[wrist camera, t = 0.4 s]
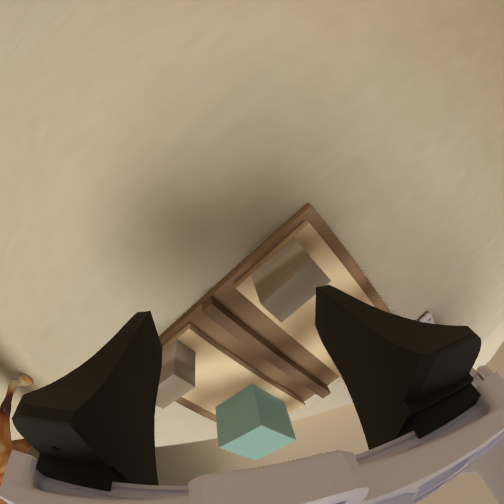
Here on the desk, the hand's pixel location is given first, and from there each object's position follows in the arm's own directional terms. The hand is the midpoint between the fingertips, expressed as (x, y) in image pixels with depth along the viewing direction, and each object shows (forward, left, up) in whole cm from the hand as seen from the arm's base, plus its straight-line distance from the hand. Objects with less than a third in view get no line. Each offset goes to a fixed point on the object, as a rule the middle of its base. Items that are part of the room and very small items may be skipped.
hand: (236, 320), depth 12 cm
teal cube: (-14, +10, -8) cm, 19 cm away
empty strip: (-11, -2, -9) cm, 14 cm away
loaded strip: (-11, +10, -9) cm, 17 cm away
